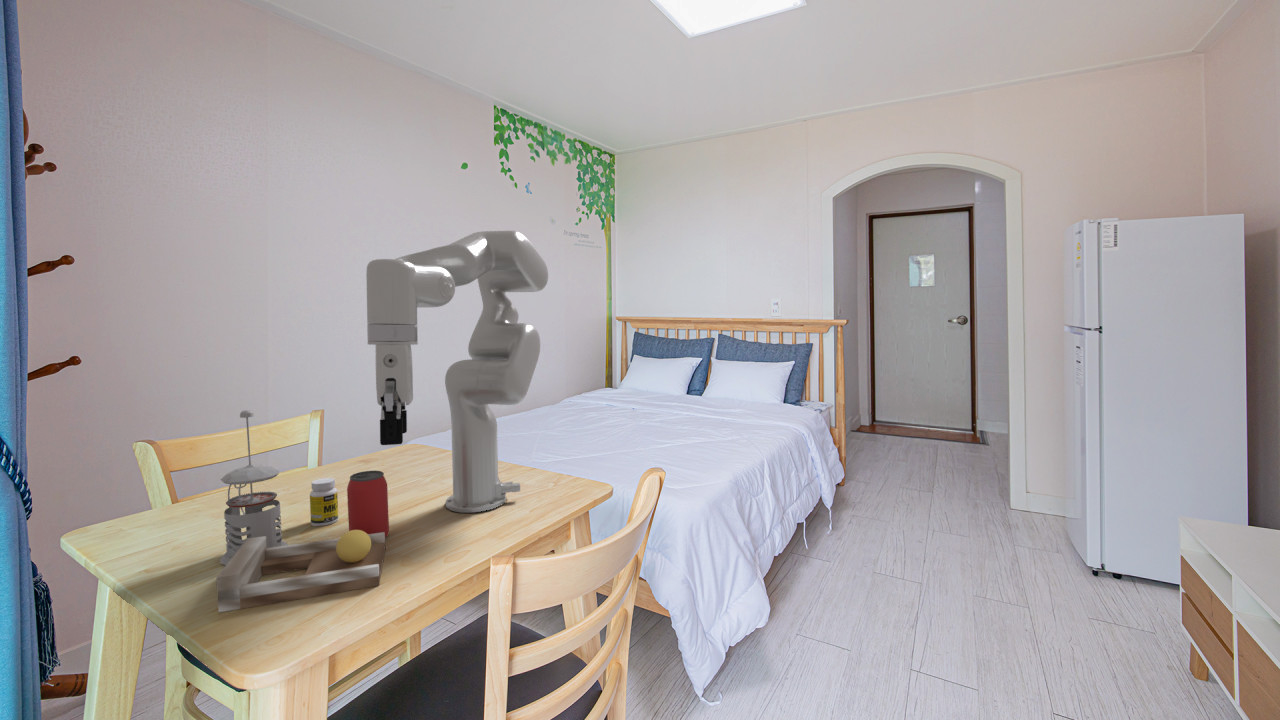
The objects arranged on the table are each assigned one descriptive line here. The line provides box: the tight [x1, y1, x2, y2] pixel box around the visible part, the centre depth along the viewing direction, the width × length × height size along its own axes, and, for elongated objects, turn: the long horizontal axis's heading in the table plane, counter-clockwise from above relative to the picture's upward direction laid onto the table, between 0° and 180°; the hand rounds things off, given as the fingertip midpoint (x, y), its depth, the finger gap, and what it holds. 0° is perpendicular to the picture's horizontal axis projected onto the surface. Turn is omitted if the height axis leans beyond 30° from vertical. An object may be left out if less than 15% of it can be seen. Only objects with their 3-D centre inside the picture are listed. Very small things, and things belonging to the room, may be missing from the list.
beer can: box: [346, 470, 390, 538], centre depth 98 cm, size 7×7×12 cm
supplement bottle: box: [309, 477, 339, 527], centre depth 106 cm, size 5×5×8 cm
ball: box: [336, 530, 371, 563], centre depth 86 cm, size 5×5×5 cm
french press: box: [219, 409, 289, 566], centre depth 92 cm, size 10×12×25 cm
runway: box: [216, 532, 386, 613], centre depth 84 cm, size 20×14×5 cm
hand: (394, 438), depth 89 cm, fingers open, 9 cm apart
